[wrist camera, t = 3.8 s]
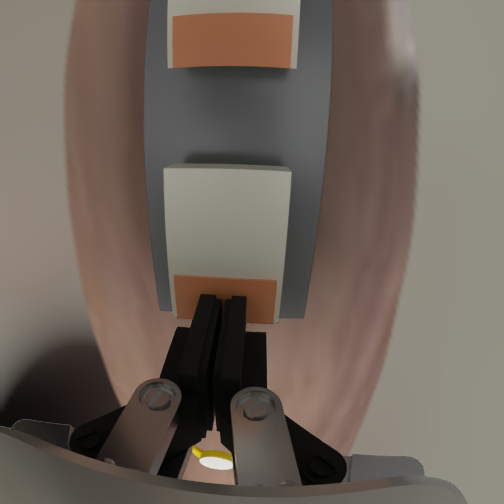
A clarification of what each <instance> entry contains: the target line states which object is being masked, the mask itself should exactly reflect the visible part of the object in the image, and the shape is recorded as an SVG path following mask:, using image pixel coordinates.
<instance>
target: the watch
mask: <svg viewBox="0 0 504 504" xmlns="http://www.w3.org/2000/svg"><path fill="white" fill-rule="evenodd" d="M192 453H194V455H196V456H197V457H199V458H200V460H199V461H200V463H201V464H202V465H204V466H206V467H209V468H212V469H218V470H228V469H231V468H233V464H232V454H229V453H226V452H223V451H217V450H207V451H203V450H201V449H200V448H198V447H196V446H195V445H193V449H192Z"/></svg>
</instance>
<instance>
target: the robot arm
mask: <svg viewBox="0 0 504 504" xmlns="http://www.w3.org/2000/svg"><path fill="white" fill-rule="evenodd" d="M246 304H247V296H232V298H231V299H226V301H225V307H224V312H223V318H222V300H221V299H216V295H213V294H201V295H200V297H199V301H198V304H197V307H196V310H195V314H194V317H193V320H192V323H191V327H190V328H187V327H177V329H176V331H175V334H174V337H173V340H172V342H171V345H170V348H169V351H168V354H167V357H166V360H165V363H164V366H163V369H162V372H161V375H160V378H155V379H150V380H147V381H145V382H143V383H142V384H140V385H139V386H138V387H137V389H136V390H135V392H134V393H133V395H132V397H131V398H130V400H129V402H128V403H127V405H125V406H123V407H121V408H119V409H117V410H115V411H112V412H110V413H108V414H106V415H103V416H101V417H99V418H97V419H94V420H92V421H90V422H88V423H85V424H83V425H81V426H79V427H77V428H72V427H71V425H63V424H55V423H47V422H40V421H34V420H28V419H27V420H20V421H18V422H16V423H15V424H14V425H13V427H12V429H10V428H6V427H2V426H0V504H467V501H466V499H465V497H464V496H463V494H462V493H461V491H460V490H459V489H458V488H457V487H456V486H455V485H454V484H452V483H450V482H448V481H445V480H442V479H438V478H432V477H426V476H424V469H423V466H422V464H421V463H420V462H419V461H418V460H417V459H415V458H412V457H407V456H406V457H405V456H375V455H359V454H353V455H352V456H342V455H341V454H340V453H339V452H338V451H336V450H334V449H333V448H331V447H330V446H328V445H327V444H325V443H324V442H322V441H321V440H320V439H318V438H317V437H315V436H314V435H312V434H311V433H309V432H308V431H307V430H305V429H304V428H302V427H301V426H300V425H298V424H297V423H295V422H294V421H293V420H291V419H290V418H288V417H287V416H286V415H284V411H283V407H282V403H281V401H280V399H279V397H278V396H277V395H276V394H275V393H274V392H272V391H270V390H269V389H267V353H266V332H245V331H246ZM214 415H215V416H216V426H217V431H220V437H221V443H222V444H223V445H224V446H225V447H226V448H227V449H228V450H229V451H230V452H231V453H232V464H233V473H234V481H235V485H224V484H213V483H204V482H195V481H188V480H182V478H183V475H184V472H185V469H186V467H187V464H188V461H189V459H190V456H191V453H192V449H193V445H195V444H197V443H198V442H200V441H201V439H202V438H206V432H207V430H209V431H212V429H213V423H214Z"/></svg>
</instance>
